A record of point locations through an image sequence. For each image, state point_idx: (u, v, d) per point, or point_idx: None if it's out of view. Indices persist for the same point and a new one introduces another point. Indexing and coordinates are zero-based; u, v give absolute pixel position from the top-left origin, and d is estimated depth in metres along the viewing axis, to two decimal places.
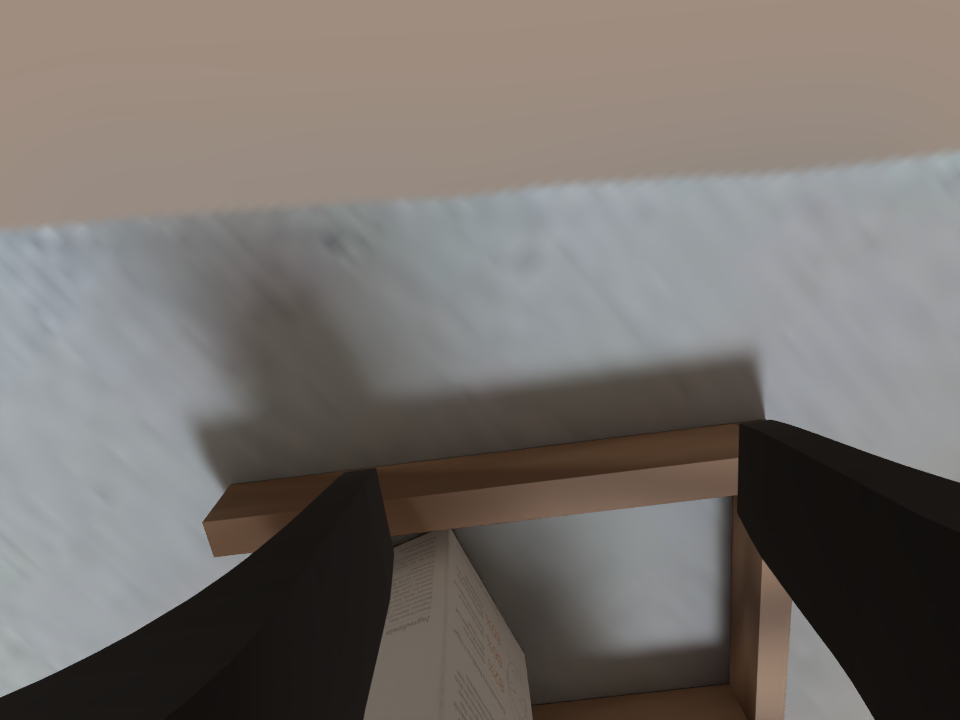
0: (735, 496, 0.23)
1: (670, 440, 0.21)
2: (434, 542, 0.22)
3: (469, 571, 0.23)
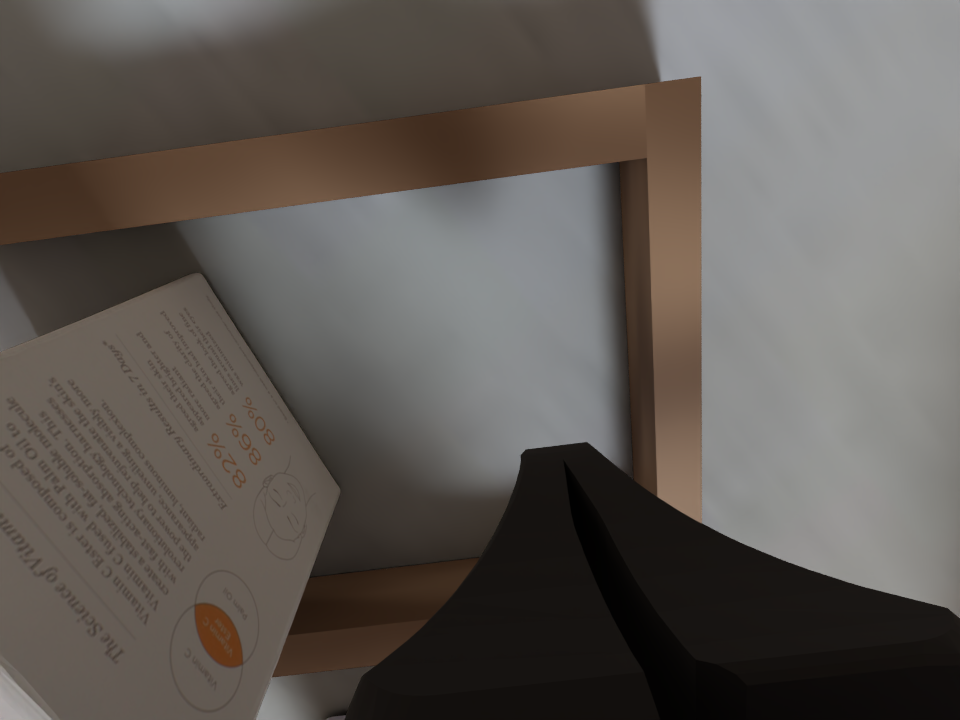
0: (623, 225, 0.15)
1: None
2: None
3: (227, 337, 0.15)
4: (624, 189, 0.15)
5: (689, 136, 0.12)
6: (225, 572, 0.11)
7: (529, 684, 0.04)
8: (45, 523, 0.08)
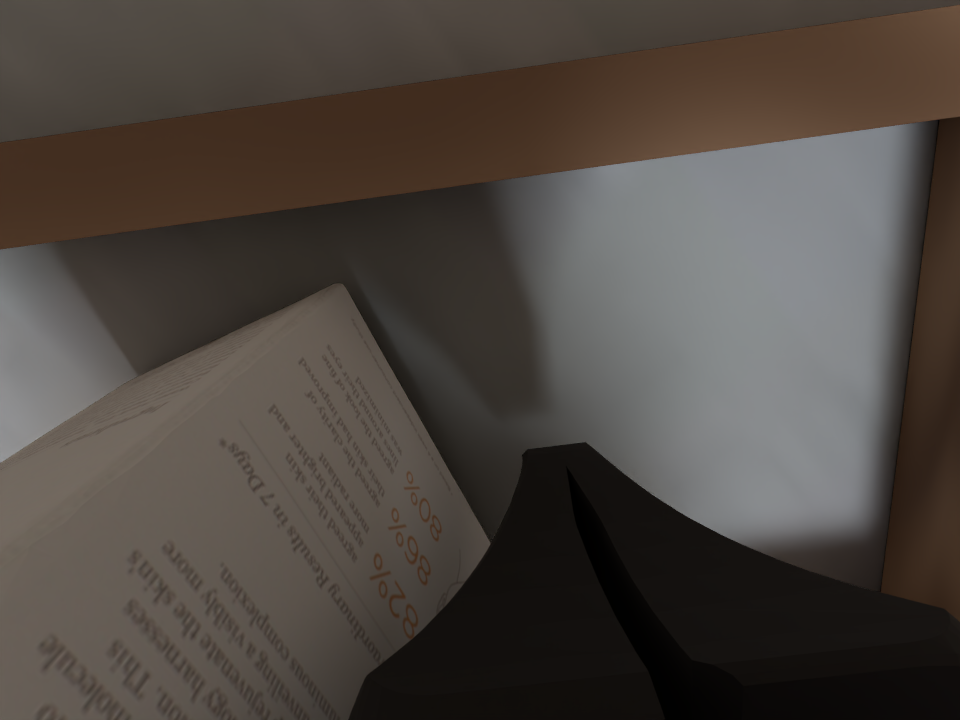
0: (934, 206, 0.11)
1: None
2: (297, 303, 0.10)
3: (379, 380, 0.11)
4: (952, 155, 0.11)
5: None
6: None
7: (533, 683, 0.04)
8: None
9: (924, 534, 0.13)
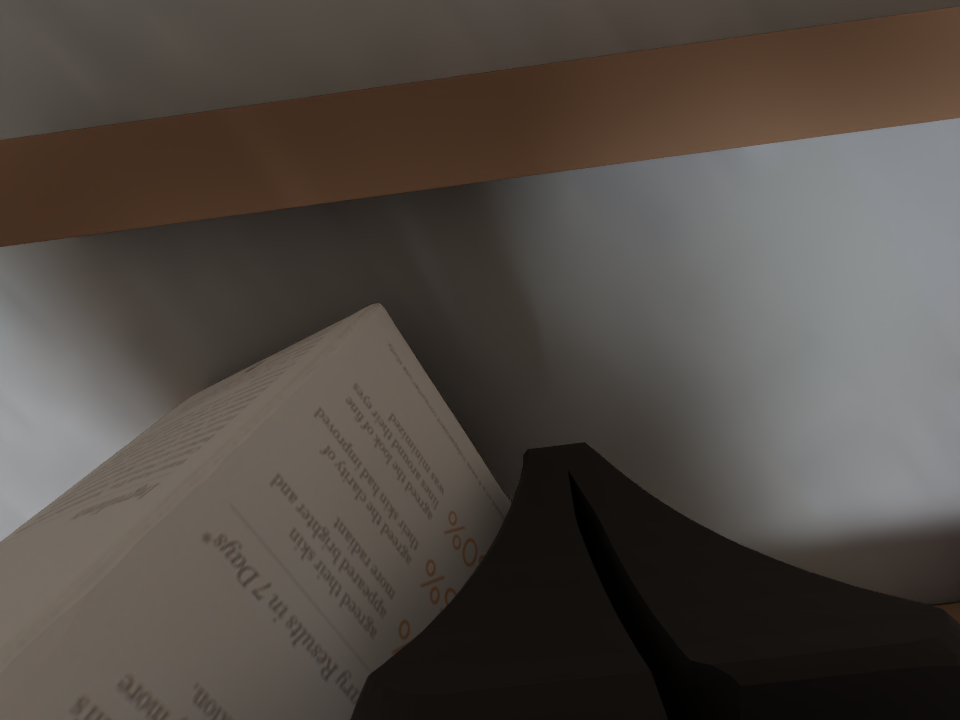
0: None
1: None
2: (329, 331, 0.09)
3: (420, 410, 0.10)
4: None
5: None
6: None
7: (536, 683, 0.04)
8: None
9: None
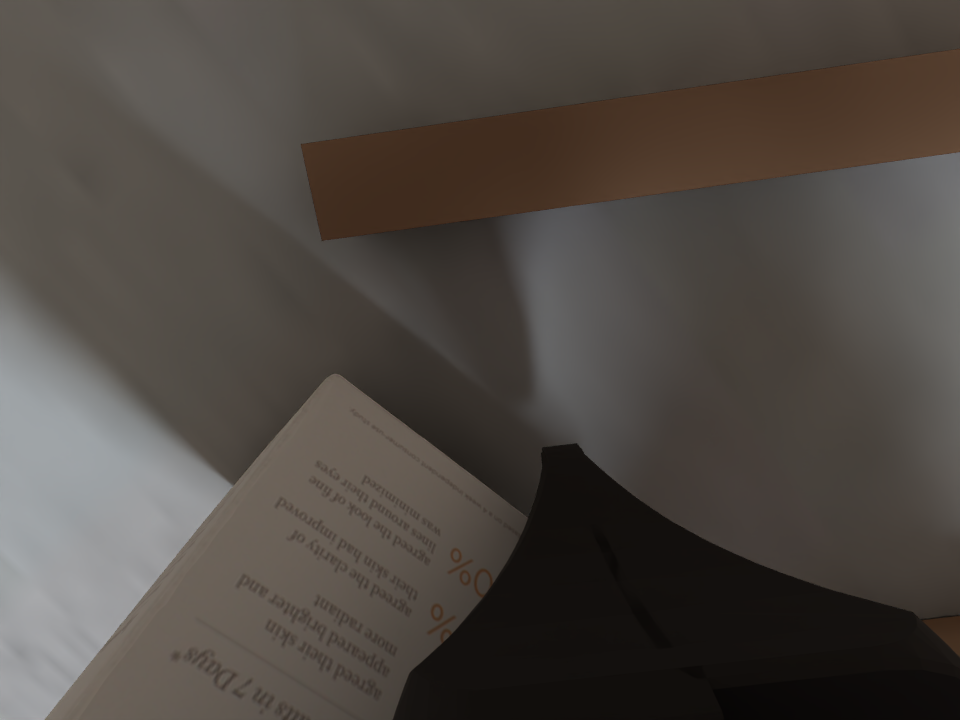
0: None
1: None
2: None
3: (399, 461, 0.10)
4: None
5: None
6: None
7: (585, 677, 0.04)
8: None
9: None
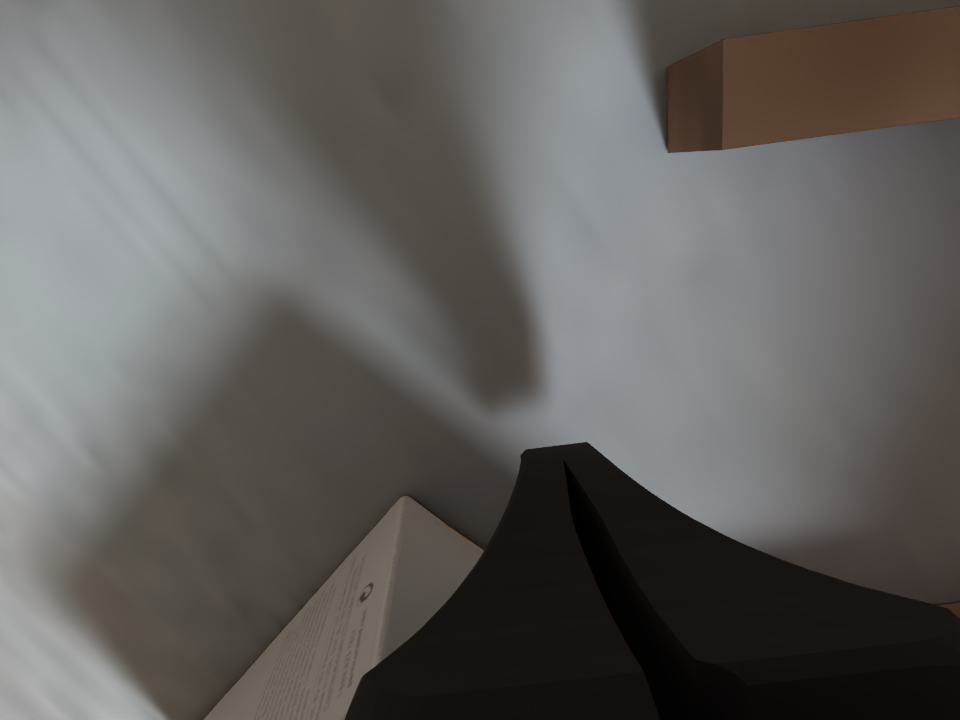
0: None
1: None
2: (336, 696, 0.09)
3: None
4: None
5: None
6: None
7: (529, 683, 0.04)
8: None
9: None
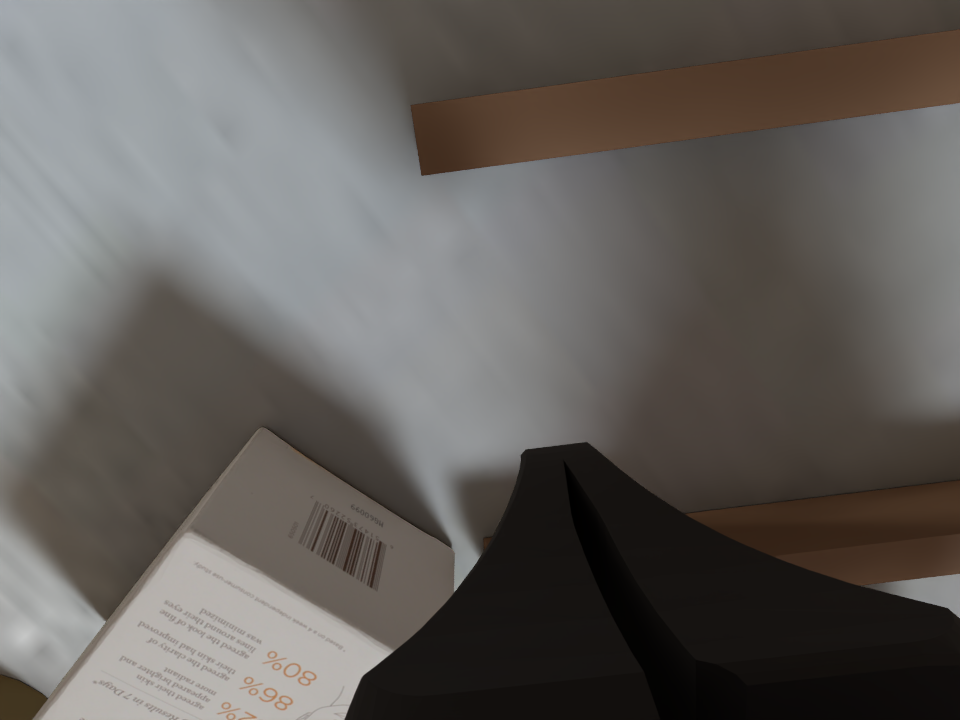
0: None
1: None
2: (172, 540, 0.13)
3: (234, 598, 0.13)
4: None
5: None
6: None
7: (529, 684, 0.04)
8: None
9: None
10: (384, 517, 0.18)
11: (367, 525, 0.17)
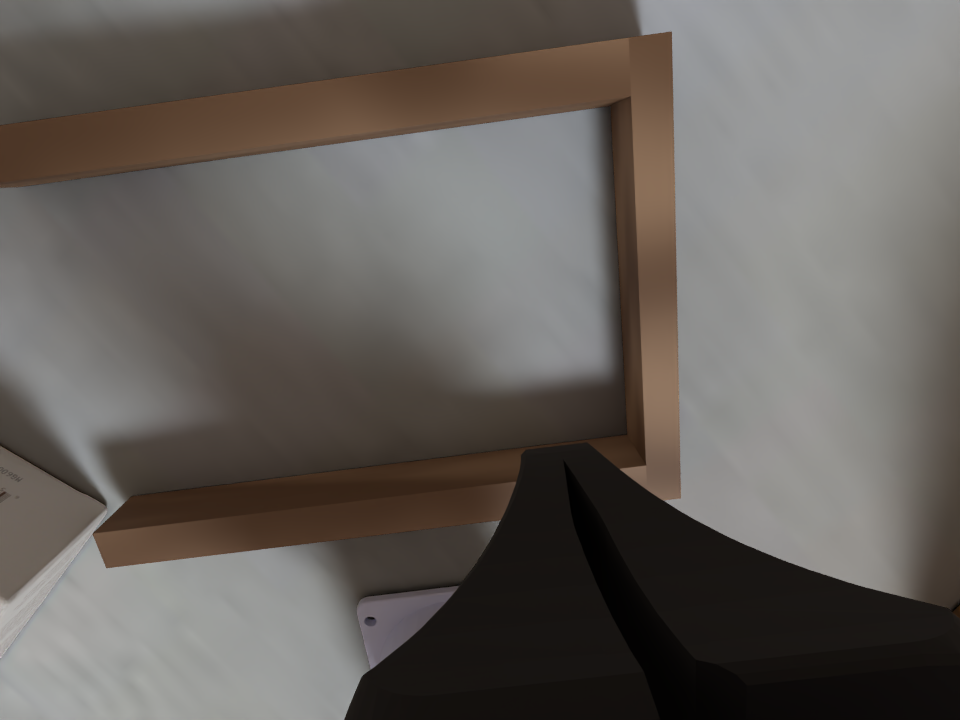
0: (614, 160, 0.19)
1: None
2: None
3: None
4: (614, 129, 0.18)
5: (663, 78, 0.16)
6: None
7: (530, 684, 0.04)
8: None
9: (631, 368, 0.20)
10: (29, 475, 0.22)
11: None
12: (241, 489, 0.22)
